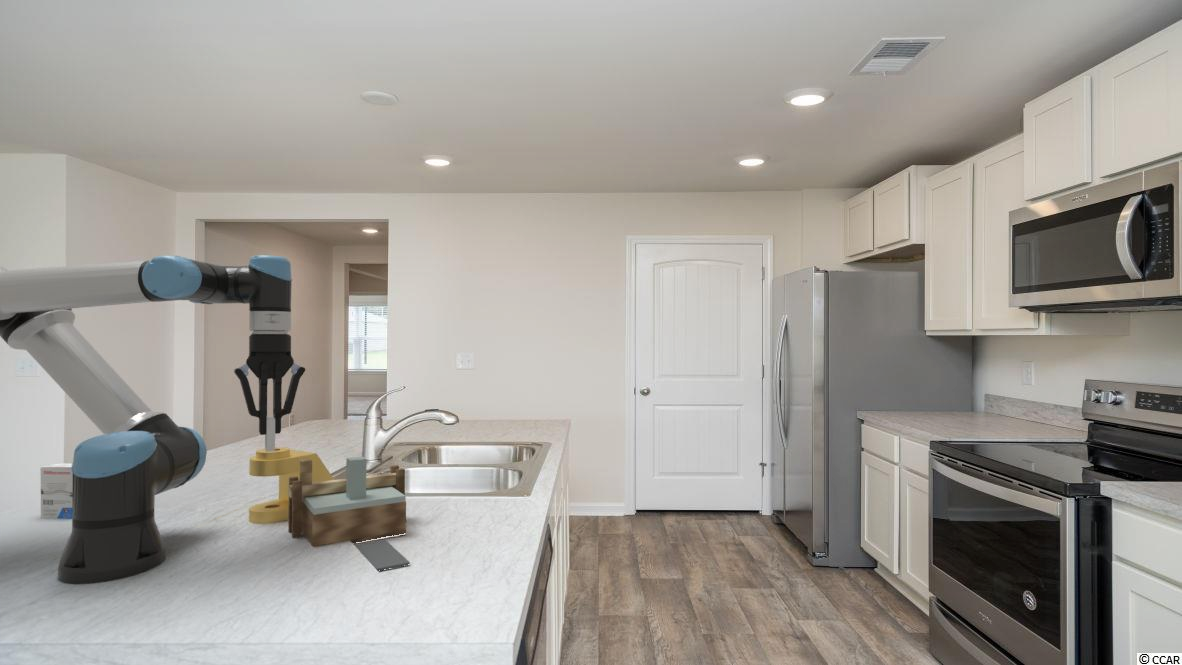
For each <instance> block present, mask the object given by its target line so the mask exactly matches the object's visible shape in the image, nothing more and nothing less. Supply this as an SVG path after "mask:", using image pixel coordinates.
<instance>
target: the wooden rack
mask: <svg viewBox="0 0 1182 665" xmlns="http://www.w3.org/2000/svg"><path fill="white" fill-rule="evenodd" d="M389 469H390V470H389V473H396V485H390V486H392V487H393V488H395V489H396V490H398V491H399V492H401V493H402V494H404V495H405V496H406V492H405V490H406V479H405V478H406V470H405V468H400V465H398V464H396V465H390V467H389ZM289 485H292V498H290V497H289V515H288V520H287V521H288V525H287V527H288V528H287V530H288V533H291V538H292V539H295V538H302V534H303V536H305V538H306V539H307V541H308V542H309V543H310V545H311V546H312V548H317V547H320V546H321V547H322V546H326V545H331V544H337V543H343V542H347V541H350V542H351V544H353V543H356V542H362V541H366V540H371V539H377V538H381V537H386V536H392V535H393V536H394V535H399V534H404V533H406V534H407V501H406V502H399V503H392V504H385V505H378V506H371V507H364V508H357V509H351V510H344V511H337V512H330V513H323V514H316V515H314V514H313V513H312V512H311V511H310V510H309V508H308V507H307V506H306V505H305V504H304V502H303V501H302V481H301V480H298V477H297V476H296V477H289Z"/></svg>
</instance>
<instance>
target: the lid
mask: <svg viewBox="0 0 1182 665" xmlns="http://www.w3.org/2000/svg"><path fill="white" fill-rule="evenodd" d="M345 463H346V464H345V465H346V466H345V467H346V468H345V470H346V472H345V473H346V474H345V479H346V491H343V492H335V493H327V494H319V495H312V496H304V497H302V501H303V502H304V504H305V505H306V506H307V507H308V508H309V510H310V511H311V512H312V513H313V514H314V515H316V514H323V513H330V512H337V511H344V510H351V509H357V508H364V507H371V506H378V505H385V504H392V503H399V502H406V503H407V501H406V500H407V498H406V497H407V496H406V494H405V495H404V494H402V493H401V492H399V491H398V490H396V489H395V488H393V487H392V486H382V487H374V488H366V476H367V458H366V457H365V456H363V455H362V456H354V457H346V462H345Z"/></svg>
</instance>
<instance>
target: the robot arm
mask: <svg viewBox="0 0 1182 665" xmlns="http://www.w3.org/2000/svg"><path fill="white" fill-rule="evenodd" d="M292 282H293V278H292V267H291V262H290V260H289V259H288V258H287V257H283V256H279V255H269V254H268V255H267V254H266V255H265V254H263V255H262V254H260V255H252V256H251V257H250V258H249V263H248V265H244V266H243V265H241V266H236V265H234V266H233V265H218V264H214V263H208V262H205V261H198V260H195V259H190V258H187V257H182V256H181V255H165V254H164V255H158V256H156V257H153V258H152V259H151V260H148V259H147V260H134V261H119V262H108V263H107V262H106V263H93V264H80V265H79V264H78V265H66V266H64V265H63V266H53V267H52V266H49V267H41V268H40V267H37V268H26V269H25V268H24V269H13V270H12V269H11V270H9V269H7V268H5V267H3V266H0V338H1V339H2V340H3V341H4V342H5V343H6V344H7V345H8V346H9V347H10V348H11V349H14V350H23V351H26V352H27V353H29V355H30V356H31V357H32V358H33V359H34V361H36V362H37V364H38V365H39V366H40V367H41V368H42V369H43V370H44V371H45V372H46V374H48V375H49V377H50V378H51V379H52V380H53V381H54V382H55V383H56V384H57V385H58V387H59V388H61V389H62V391H63V392H64V393H65V394H66V395H67V396H68V398H70V399H71V400H72V401H73V402H74V403H75V405H76V406H77V407H78V408H79V409H80V410H81V411H82V412H83V414H85V415H86V416H87V418H89V420H90V421H91V422H92V423H93V424H94V425H95V426H96V427H97V429H98V430H99V431H100V432H101V433H102V434H100V435H96V436H94V437H90V438H87V439H85V440H84V441H81V442H80V443H79V444H78V445H76V447H75V449H74V451H73V458H72V460H73V461H72V463H71V464H72V467H71V469H72V473H73V493H72V520H71V522H72V523H71V532H70V535H69V536H68V540H67V543H66V545H65V548H64V550H63V553H62V555H61V558H60V560H59V562H58V566H57V568H58V570H57V573H58V574H57V579H58V580H59V582H62V583H64V584H65V583H66V584H71V585H89V584H90V585H92V584H100V583H107V582H112V581H118V580H121V579H126V578H129V577H132V576H133V577H134V576H137V575H140V574H142V573H145V572H148V571H149V570H153V569H154V568H157V567H158V566H160V565H161V564H163V563H164V562H165V560H166V546H165V543H164V540H163V538H162V535H161V533H160V530H159V528H158V525H157V522H156V519H155V504H156V503H155V498H156V496H157V495H160V494H161V493H164V492H167V491H169V490H172V489H176V488H179V487H181V486H183V485H185V484H187V483H189V482H190V481H191V480H194V479H195V478H196V477H197V476H198V475H199V474H200V472H201V471H202V470H203V469H204V466H205V465H206V461H207V454H208V453H207V452H208V451H207V446H206V442H205V440H204V438H203V437H202V436H201V434H200V433H199V432H197V431H196V430H194V429H193V428H190V427H187V426H180V425H179V426H178V425H177V424H176V423H175V421H174V420H173V419H172V418H171V417H170V416H169V415H168V414H167V413H166V412H164V411H163V412H162V411H161V412H160V411H153V410H152V409H151V408H150V407H149V406H148V405H147V404H146V403H145V402H144V401H143V399H142V398H140V396H139V395H138V394H137V393H136V392H135V391H134V389H132V388H131V386H129V385H128V384H127V382H126V381H125V380H124V379H123V378H122V376H120V374H118V373H117V371H116V370H115V369H114V368H113V367H112V366H111V365H110V364H109V363H108V361H106V359H105V358H104V357H103V356H102V355H101V354H100V353H99V352H98V351H97V350H96V349H95V347H94V346H93V345H92V344H91V343H90V342H89V341H88V340H87V339H86V338H85V337H84V336H83V335H82V333H81V332H80V331H79V330H78V329H77V328H76V327H75V326H74V322H75V319H76V314H75V313H74V312H73V311H72V310H73V309H80V308H81V309H83V308H94V307H105V306H114V305H115V306H118V305H130V304H143V303H151V302H152V303H153V302H157V303H158V302H159V303H160V302H161V303H162V302H171V301H172V302H173V301H189V302H191V303H193V304H200V305H201V304H202V305H203V304H205V305H214V304H248V306H249V308H248V310H249V319H248V330H249V331H250V332H252V333H251V334H250V335H249V336H248V337H249V338H248V357H247V358H246V361H245V364H243V365H241V366H240V367H236V368H234V370H233V374H234V375H236V377H237V379H238V380H239V382H240V385H241V390H242V393H243V397H244V401H245V404H246V408H247V412H248V414H249V416H251V417H255V418H258V432H259V434H260V436H263V435H264V448H265V450H266V452H271V451H275V447H276V434H277V435H278V434H281V432H282V417H283V416H286V415H289V414H291V413H292V409H293V406H294V402H295V400H296V395H297V391H298V387H299V383H300V380H301V378H302V377H303V375H304V373H305V372H306V368H305V367H303V366H301V365H298V364H297V363H296V362H295V360H294V358H293V356H292V336H291V334H289V332H291V331H292V309H291V308H292ZM249 369H250V371H251V372H252V374H253V375H254V376H255V377H256V378H257V379H258V409H257V408H256V404H255V400H254V396H253V393H252V389H251V386H250V382H249V379H248V377H247V376H249V374H250V372H249ZM290 370H291V371H290ZM289 371H290V372H291V374H292V375H291V378H290V382H289V386H288V389H287V393H286V397H285V399H284V400H285V401H284V404H283V403H282V398H283V397H282V384H283V377H285V376H286V374H287V373H288V372H289ZM270 379H272V415H273V416H272V417H271V416H270V417H268V384H269V383H268V382H269V380H270ZM282 404H283V408H282Z"/></svg>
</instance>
